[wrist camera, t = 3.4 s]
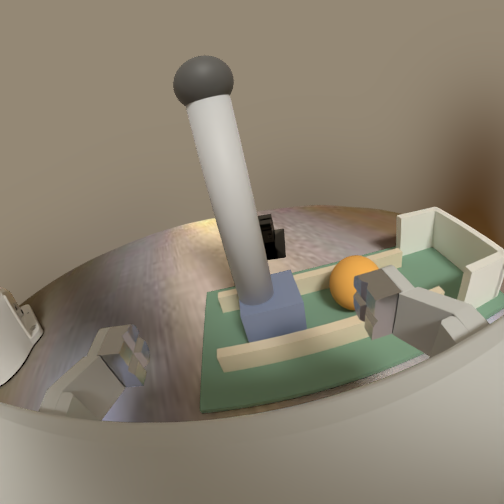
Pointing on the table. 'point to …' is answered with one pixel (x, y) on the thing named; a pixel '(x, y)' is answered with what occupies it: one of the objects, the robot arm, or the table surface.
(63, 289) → the table surface
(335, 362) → the pitch
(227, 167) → the lever
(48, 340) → the table surface
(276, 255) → the black boxy piece
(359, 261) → the ball
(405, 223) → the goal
